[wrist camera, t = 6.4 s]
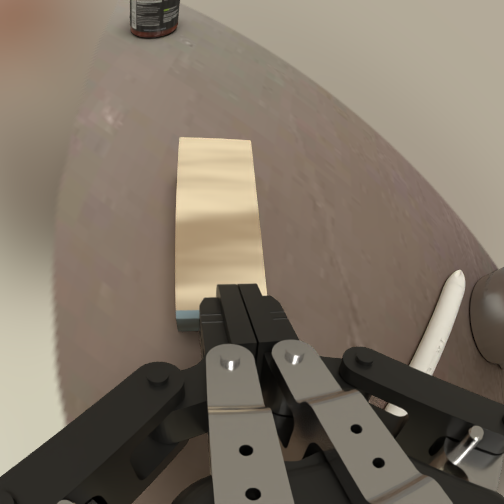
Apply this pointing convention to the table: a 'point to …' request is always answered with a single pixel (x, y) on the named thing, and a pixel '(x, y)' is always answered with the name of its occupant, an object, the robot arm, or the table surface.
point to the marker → (437, 330)
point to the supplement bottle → (153, 17)
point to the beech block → (214, 223)
